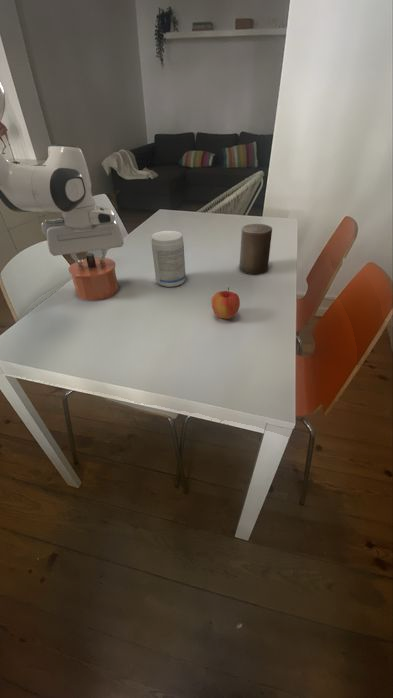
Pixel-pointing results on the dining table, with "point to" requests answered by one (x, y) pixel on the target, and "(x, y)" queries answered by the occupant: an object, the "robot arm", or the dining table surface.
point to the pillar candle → (255, 248)
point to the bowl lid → (92, 267)
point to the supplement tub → (168, 258)
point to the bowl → (96, 286)
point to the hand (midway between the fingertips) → (91, 265)
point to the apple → (225, 304)
